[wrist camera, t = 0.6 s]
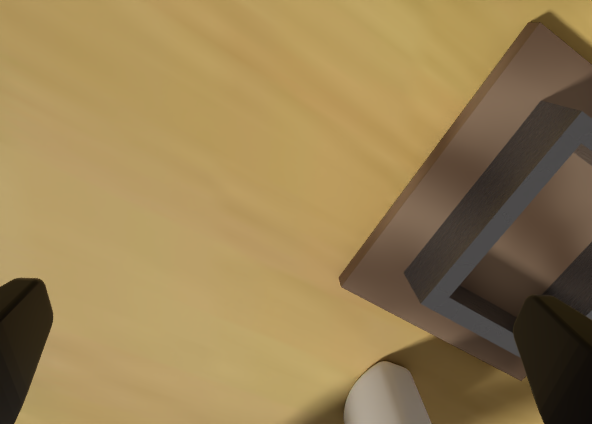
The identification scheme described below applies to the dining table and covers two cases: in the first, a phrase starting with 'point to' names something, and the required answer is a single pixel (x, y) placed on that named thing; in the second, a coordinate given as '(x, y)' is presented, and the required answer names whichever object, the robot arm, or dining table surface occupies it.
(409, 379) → the eye dropper bottle
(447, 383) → the dining table surface
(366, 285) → the socket board
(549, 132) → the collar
